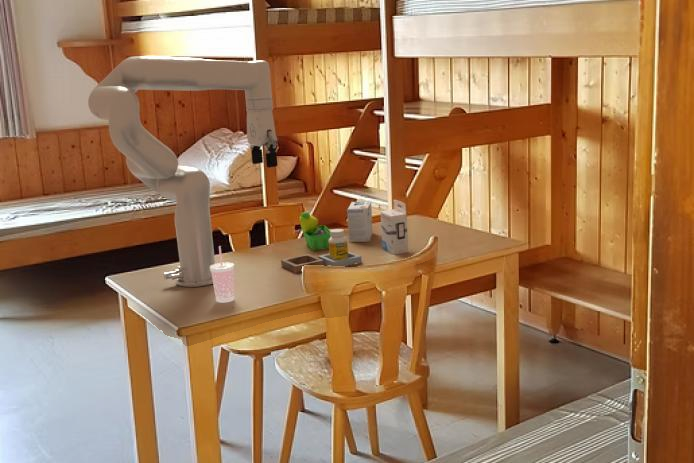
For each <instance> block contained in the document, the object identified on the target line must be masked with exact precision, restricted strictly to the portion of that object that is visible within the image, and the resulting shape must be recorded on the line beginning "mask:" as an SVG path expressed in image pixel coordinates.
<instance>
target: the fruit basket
mask: <svg viewBox="0 0 694 463" xmlns="http://www.w3.org/2000/svg"><path fill="white" fill-rule="evenodd" d="M298 219H299V222H300V227H301V228H300V229H301V231H302V233H303V236H304V239H305V242H306V245H308V247H309V248H310V249H311V251H315V250H316V251H317V250H325V249H329V238H331V235H330V231H331V229H329V228H328V227H327V226H326V225H322V224H321V225H318V223H319V220H318V218H317V217H315V216H314V215H311V214H310V213H309V212H307V211H304V212H301V213H300V216H299V218H298Z"/></svg>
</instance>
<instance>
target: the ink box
mask: <svg viewBox="0 0 694 463" xmlns="http://www.w3.org/2000/svg"><path fill="white" fill-rule="evenodd" d="M400 206H401V207H400ZM406 206H407V205H406V203H404V202H403V201H400V200H397V199H393V209H386V210H385V209H384V210H380V224H381V228H380V230H381V246H382V249H383V250H384V251H386V252H389V253H390V254H392V255H400V254H407V253H409V238H408V237H409V236H408V220H407V218H408V217H407V207H406Z"/></svg>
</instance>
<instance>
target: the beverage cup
mask: <svg viewBox="0 0 694 463" xmlns="http://www.w3.org/2000/svg"><path fill="white" fill-rule="evenodd" d="M221 247H222V246H221V245H219V246H218V251H219V252H218V253H219V260H220V261H219V262H218V263H215V264H213V265H211V266H210V271H211V273H212V279H213V284H212V285H213V289H214V295H215V296H214V297H215V301H216V303H221V304H222V303H230V302H232V301H234V300H235V282H234V280H235V279H234V276H235V275H234V269H235V264H234V263H233V262H223V257H222V248H221Z"/></svg>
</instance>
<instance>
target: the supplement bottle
mask: <svg viewBox="0 0 694 463" xmlns="http://www.w3.org/2000/svg"><path fill="white" fill-rule="evenodd" d="M330 235H331V237H330V238H329V248H328V254H330V259H332V260H334V261H337V260H341V259H346V258H348V251H349V246H348V238H347V237H346V236H345V230H344V229H343V228H335V229H334V228H333V229H330Z"/></svg>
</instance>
